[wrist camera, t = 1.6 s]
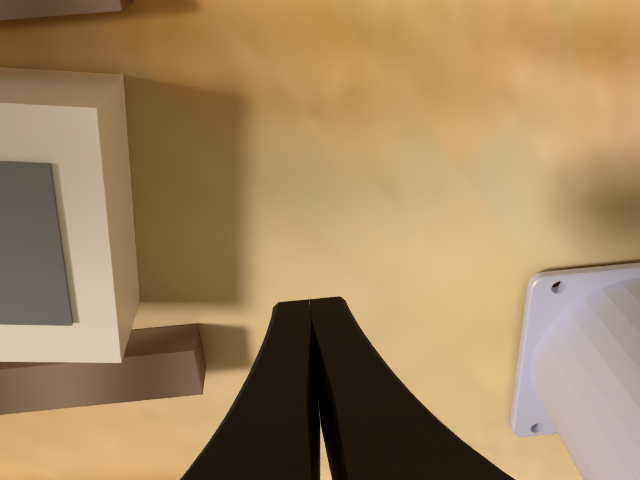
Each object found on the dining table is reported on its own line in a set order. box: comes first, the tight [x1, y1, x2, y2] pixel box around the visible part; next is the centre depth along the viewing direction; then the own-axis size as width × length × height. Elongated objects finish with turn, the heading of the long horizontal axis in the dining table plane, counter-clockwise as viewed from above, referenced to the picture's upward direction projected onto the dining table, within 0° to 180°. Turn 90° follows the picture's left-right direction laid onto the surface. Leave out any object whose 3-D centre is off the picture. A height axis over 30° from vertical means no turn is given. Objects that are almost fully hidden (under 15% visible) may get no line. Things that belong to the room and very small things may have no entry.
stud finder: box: [0, 67, 140, 363], centre depth 18 cm, size 6×8×4 cm
